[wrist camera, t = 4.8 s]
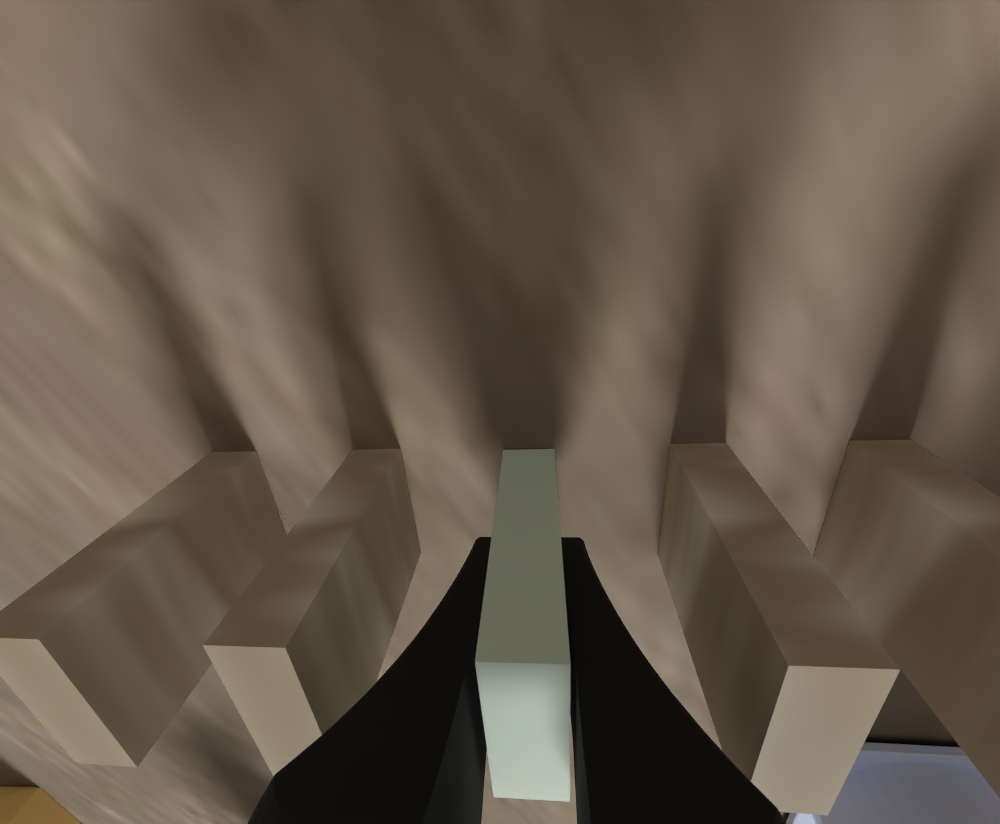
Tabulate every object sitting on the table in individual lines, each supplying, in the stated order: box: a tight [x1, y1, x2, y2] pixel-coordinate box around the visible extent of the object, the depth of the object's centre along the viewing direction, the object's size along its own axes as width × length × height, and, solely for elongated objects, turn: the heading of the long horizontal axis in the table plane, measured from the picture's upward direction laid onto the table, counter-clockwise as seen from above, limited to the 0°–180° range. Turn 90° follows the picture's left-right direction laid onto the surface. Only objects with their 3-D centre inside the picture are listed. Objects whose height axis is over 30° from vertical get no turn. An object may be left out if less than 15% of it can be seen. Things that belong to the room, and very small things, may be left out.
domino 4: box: [658, 443, 900, 815], centre depth 11 cm, size 2×4×7 cm, turn 4°
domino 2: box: [203, 448, 421, 776], centre depth 12 cm, size 2×4×7 cm, turn 4°
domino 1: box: [0, 451, 287, 767], centre depth 12 cm, size 2×4×7 cm, turn 4°
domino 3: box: [475, 449, 571, 802], centre depth 11 cm, size 2×4×7 cm, turn 4°
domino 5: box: [814, 439, 1000, 798], centre depth 10 cm, size 2×4×7 cm, turn 4°
